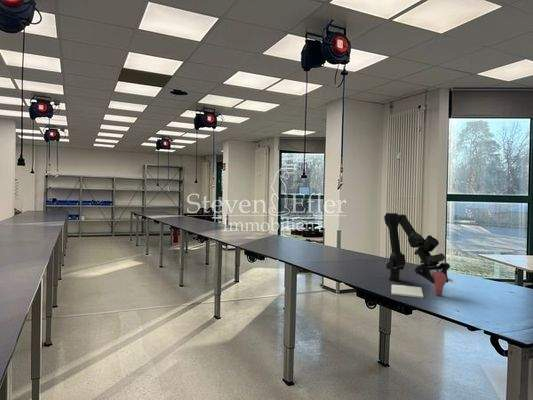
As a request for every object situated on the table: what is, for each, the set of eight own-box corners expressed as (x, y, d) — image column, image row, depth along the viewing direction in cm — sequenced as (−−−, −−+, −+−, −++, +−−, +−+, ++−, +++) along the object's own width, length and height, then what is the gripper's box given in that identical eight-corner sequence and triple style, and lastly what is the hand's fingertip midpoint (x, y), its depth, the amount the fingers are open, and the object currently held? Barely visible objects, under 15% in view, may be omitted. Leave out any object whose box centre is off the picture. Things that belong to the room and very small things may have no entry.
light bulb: (432, 292, 203) (433, 269, 203) (447, 295, 199) (448, 271, 198) (428, 295, 198) (429, 271, 197) (443, 297, 193) (444, 273, 193)
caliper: (423, 275, 246) (423, 265, 246) (424, 275, 247) (424, 265, 247) (452, 282, 229) (453, 271, 229) (453, 282, 229) (454, 271, 229)
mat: (391, 285, 215) (391, 284, 215) (420, 288, 210) (421, 287, 210) (391, 294, 197) (391, 292, 197) (423, 297, 192) (423, 296, 192)
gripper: (419, 248, 198) (434, 274, 188) (448, 247, 204) (464, 273, 194) (408, 260, 206) (422, 287, 196) (436, 259, 212) (451, 284, 202)
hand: (440, 282), depth 197 cm, fingers open, 8 cm apart
